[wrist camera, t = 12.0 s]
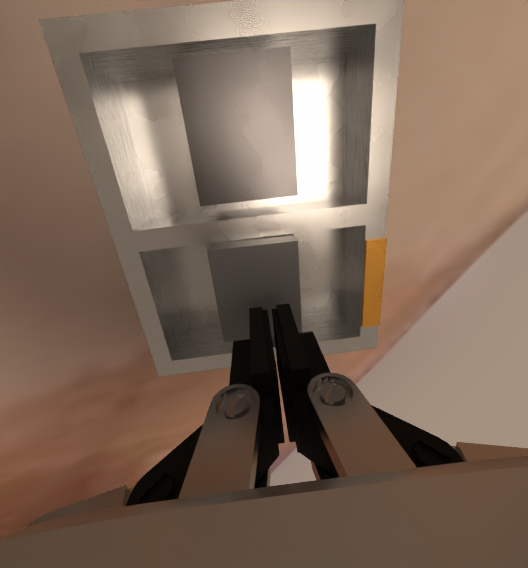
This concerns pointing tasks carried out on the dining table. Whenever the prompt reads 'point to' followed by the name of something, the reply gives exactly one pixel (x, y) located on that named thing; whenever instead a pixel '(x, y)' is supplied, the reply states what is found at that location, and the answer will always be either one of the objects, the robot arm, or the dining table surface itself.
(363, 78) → the grey divided tray
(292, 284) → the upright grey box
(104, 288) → the dining table surface
